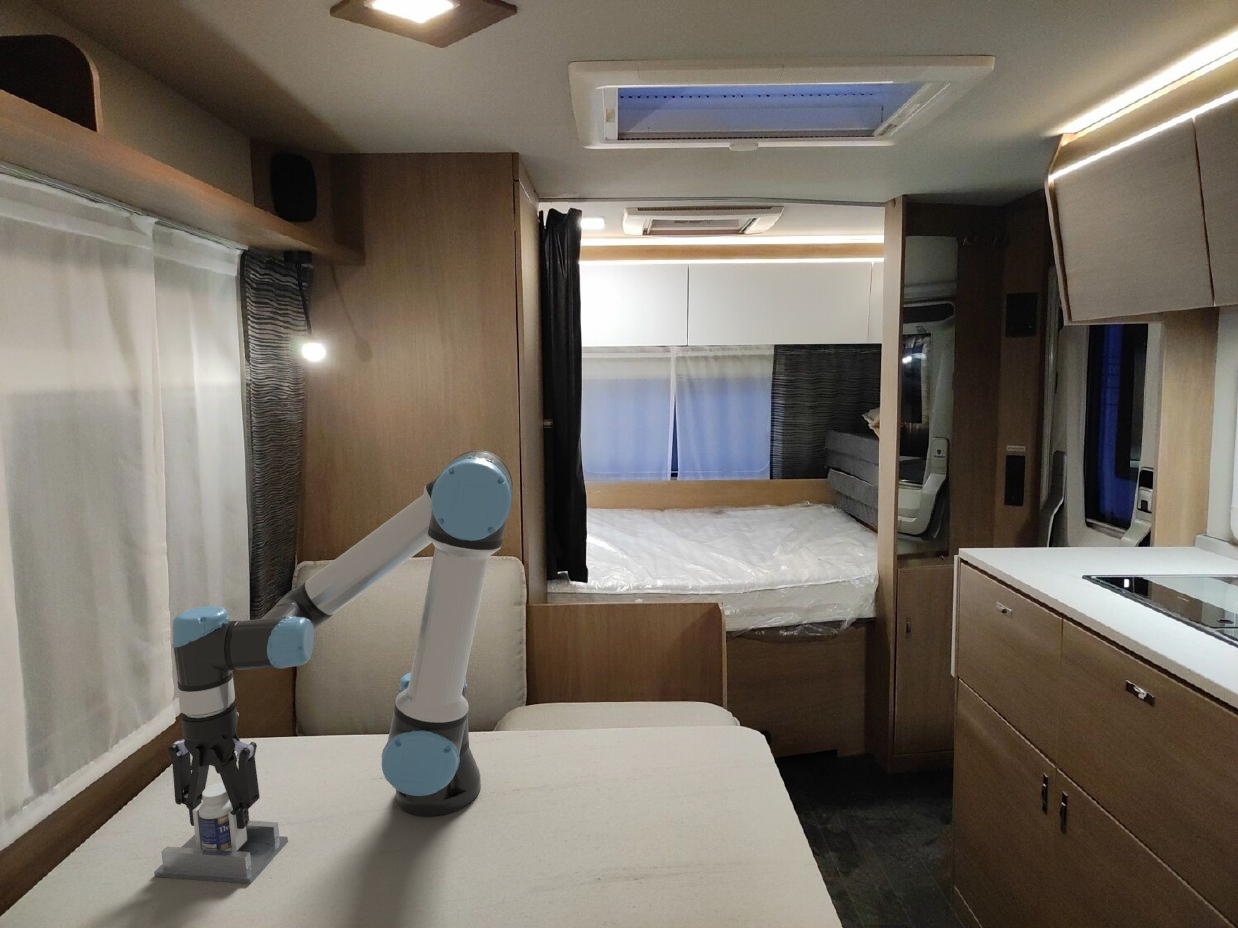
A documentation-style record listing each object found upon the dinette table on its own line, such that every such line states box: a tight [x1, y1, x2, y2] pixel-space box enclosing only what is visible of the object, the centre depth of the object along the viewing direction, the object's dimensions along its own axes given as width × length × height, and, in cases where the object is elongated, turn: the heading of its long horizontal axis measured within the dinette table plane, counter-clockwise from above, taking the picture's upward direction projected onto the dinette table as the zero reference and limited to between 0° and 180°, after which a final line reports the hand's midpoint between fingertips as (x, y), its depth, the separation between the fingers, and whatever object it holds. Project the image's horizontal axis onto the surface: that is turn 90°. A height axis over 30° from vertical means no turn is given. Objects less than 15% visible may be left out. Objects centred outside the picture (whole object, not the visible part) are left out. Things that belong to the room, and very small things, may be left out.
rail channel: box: [153, 820, 289, 885], centre depth 116 cm, size 16×10×4 cm, turn 83°
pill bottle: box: [199, 782, 233, 851], centre depth 115 cm, size 5×5×10 cm
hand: (222, 843), depth 116 cm, fingers closed on pill bottle, 5 cm apart
